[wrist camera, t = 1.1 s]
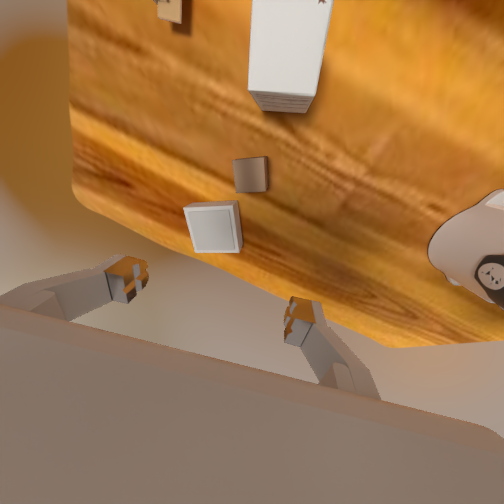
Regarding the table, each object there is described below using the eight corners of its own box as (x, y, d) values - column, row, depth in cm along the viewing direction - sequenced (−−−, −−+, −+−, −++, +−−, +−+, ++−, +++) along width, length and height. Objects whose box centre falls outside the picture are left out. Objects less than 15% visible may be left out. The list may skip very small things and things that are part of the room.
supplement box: (265, 48, 27) (251, -20, 16) (318, 51, 26) (340, -19, 15) (260, 111, 31) (245, 90, 20) (305, 115, 30) (316, 96, 19)
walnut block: (267, 155, 34) (263, 157, 28) (268, 185, 36) (265, 191, 31) (240, 158, 35) (232, 160, 29) (243, 186, 37) (236, 193, 32)
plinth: (237, 200, 38) (232, 205, 34) (242, 244, 43) (238, 253, 39) (192, 202, 40) (182, 208, 36) (202, 244, 45) (194, 253, 41)
